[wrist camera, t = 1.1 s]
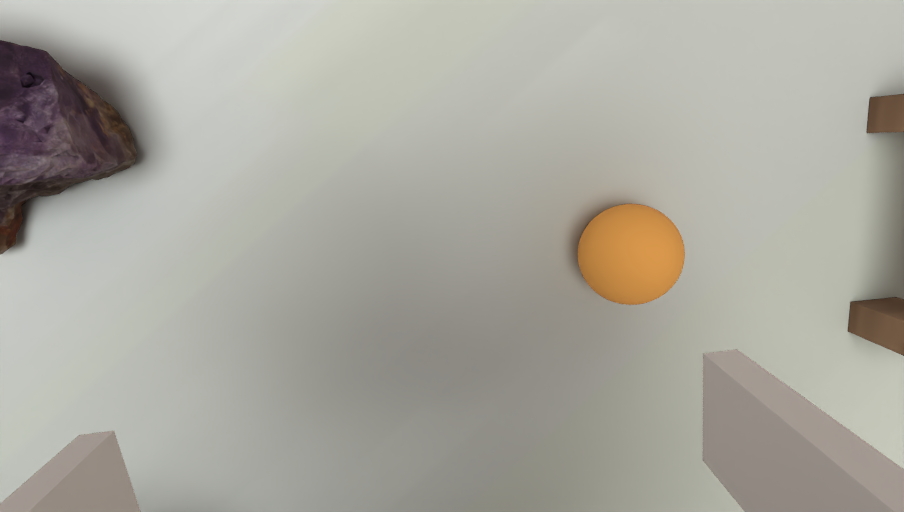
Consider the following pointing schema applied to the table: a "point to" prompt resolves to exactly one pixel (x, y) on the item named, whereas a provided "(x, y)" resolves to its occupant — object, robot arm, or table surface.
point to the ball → (631, 254)
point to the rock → (51, 133)
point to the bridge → (886, 318)
